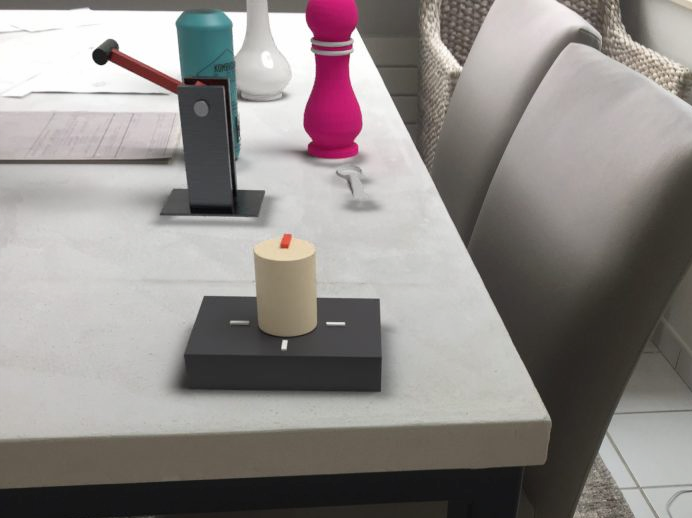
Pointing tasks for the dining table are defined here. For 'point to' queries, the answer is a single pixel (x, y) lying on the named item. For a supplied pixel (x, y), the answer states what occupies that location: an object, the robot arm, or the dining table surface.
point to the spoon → (353, 180)
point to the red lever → (134, 65)
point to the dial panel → (285, 348)
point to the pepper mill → (332, 81)
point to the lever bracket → (209, 154)
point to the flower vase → (260, 58)
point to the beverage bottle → (209, 52)
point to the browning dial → (286, 286)
